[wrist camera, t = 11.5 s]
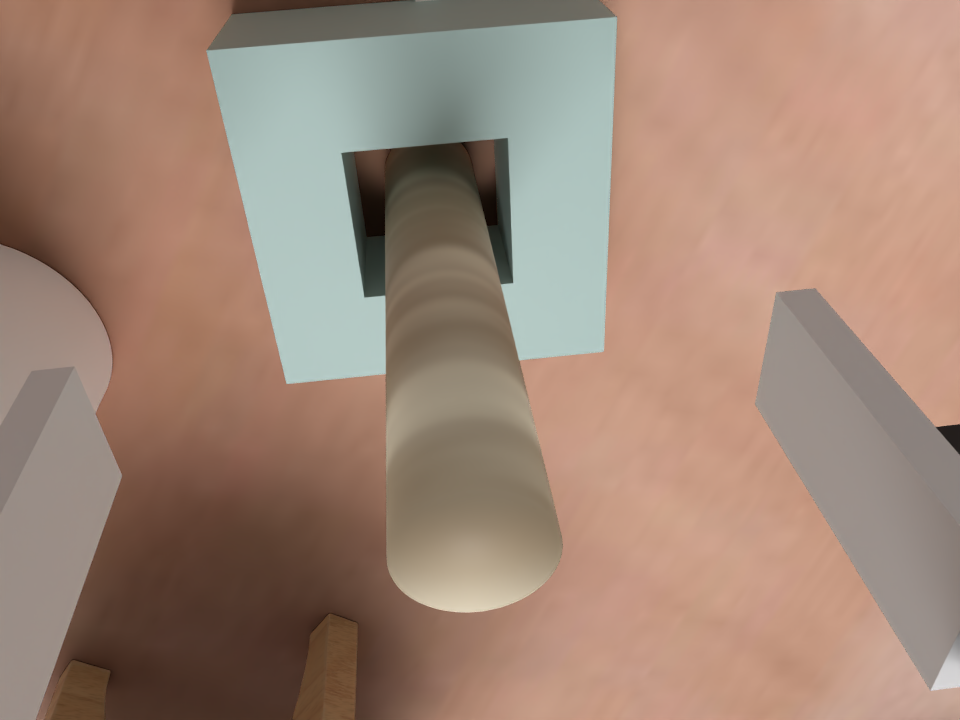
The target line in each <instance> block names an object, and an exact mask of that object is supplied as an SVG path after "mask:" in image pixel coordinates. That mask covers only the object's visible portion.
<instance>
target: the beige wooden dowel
mask: <svg viewBox="0 0 960 720" xmlns="http://www.w3.org/2000/svg"><path fill="white" fill-rule="evenodd" d="M385 322H386V558H387V567H388V570H389V573H390V575H391V577H392V579H393V581H394V582H395V584H396V585H397V586H398V588H399V589H400V590H401V591H402V592H404V593H405V594H406V595H407V596H409V597H410V598H412V599H413V600H415V601H417V602H419V603H421V604H423V605H426V606H428V607H432V608H435V609H439V610H444V611H450V612H481V611H487V610H493V609H497V608H501V607H504V606H507V605H510V604H512V603H515V602H517V601H519V600H521V599H523V598H525V597H527V596H528V595H530V594H532V593H533V592H534V591H536V590H537V589H539V588H540V587H541V586H542V585H543V584H544V583H545V582H546V581H547V580H548V579H549V578H550V577H551V576H552V574H553V573H554V571H555V570H556V568H557V566H558V564H559V562H560V558H561V555H562V548H563V543H562V535H561V531H560V527H559V523H558V519H557V515H556V510H555V506H554V502H553V498H552V494H551V490H550V486H549V481H548V477H547V473H546V469H545V465H544V461H543V457H542V453H541V448H540V444H539V440H538V436H537V432H536V428H535V424H534V419H533V415H532V411H531V407H530V403H529V399H528V395H527V390H526V386H525V382H524V378H523V374H522V370H521V366H520V361H519V357H518V353H517V349H516V345H515V341H514V337H513V333H512V328H511V324H510V320H509V316H508V312H507V308H506V304H505V299H504V295H503V291H502V287H501V283H500V279H499V275H498V270H497V266H496V262H495V258H494V254H493V250H492V246H491V241H490V237H489V233H488V229H487V225H486V221H485V217H484V213H483V208H482V204H481V200H480V196H479V192H478V188H477V184H476V179H475V175H474V171H473V167H472V163H471V159H470V157H469V154H468V152H467V151H466V149H465V148H464V146H463V145H462V144H461V143H460V142H457V143H446V144H435V145H423V146H412V147H401V148H392V150H391V151H390V153H389V155H388V158H387V160H386V165H385Z"/></svg>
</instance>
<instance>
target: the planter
mask: <svg viewBox="0 0 960 720" xmlns="http://www.w3.org/2000/svg"><path fill="white" fill-rule="evenodd" d="M357 637H358V623H356V622H353V621H350V620H348V619H345V618H342V617H339V616H336V615H334V614H328V615H327V616H326V618H325V619H324V620H323V621H322V622H321V623H320V624H319V625H318V626H317V628H316V629H315V630H314V631H313V632H312V633H311V634H310V640H309V649H308V656H307V662H306V666H305V671H304V676H303V680H302V684H301V688H300V692H299V697H298V700H297V703H296V707H295V710H294V714H293V717H292V720H355V700H356V668H357ZM109 677H110V670H106V669H103V668H99V667H96V666H93V665H89V664H86V663H82V662H79V661H75V660H72V661H71V662H70V664H69V665H68V666H67V668H66V669H65V671H64V672H63V674H62V675H61V676H60V678H59V681H58V684H57V686H56V689H55V692H54V695H53V697H52V700H51V703H50V705H49V708H48V711H47V714H46V716H45V719H44V720H105V696H106V688H107V684H108V680H109Z"/></svg>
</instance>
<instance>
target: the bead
mask: <svg viewBox="0 0 960 720" xmlns="http://www.w3.org/2000/svg"><path fill="white" fill-rule="evenodd" d="M616 31H617V16H615V15H614V14H613V13H612V12H611V11H610V10H609V9H608V8H607V7H606V6H605V5H604V4H603V3H602V2H600V1H599V0H432V1H420V2H415V0H405V1H392V2H380V3H367V4H355V5H342V6H330V7H317V8H304V9H292V10H279V11H267V12H254V13H242V14H232V15H231V16H230V18H229V19H228V21H227V22H226V23H225V25H224V26H223V28H222V29H221V31H220V32H219V33H218V35H217V36H216V38H215V39H214V40H213V42H212V43H211V45H210V46H209V48H208V49H207V50H206V51H207V55H208V59H209V64H210V68H211V72H212V76H213V80H214V84H215V89H216V93H217V97H218V101H219V105H220V109H221V114H222V118H223V122H224V126H225V130H226V134H227V138H228V143H229V147H230V151H231V155H232V159H233V163H234V168H235V172H236V176H237V180H238V184H239V188H240V192H241V197H242V201H243V205H244V209H245V213H246V217H247V222H248V226H249V230H250V234H251V238H252V242H253V246H254V251H255V255H256V259H257V263H258V267H259V271H260V276H261V280H262V284H263V288H264V292H265V296H266V300H267V305H268V309H269V313H270V317H271V321H272V325H273V330H274V334H275V338H276V342H277V346H278V350H279V354H280V359H281V363H282V367H283V371H284V375H285V379H286V384H292V383H301V382H311V381H321V380H331V379H341V378H350V377H360V376H370V375H380V374H386V322H385V235H384V236H373V237H367V236H366V229H365V223H364V216H363V209H362V203H361V196H360V189H359V183H358V176H357V169H356V163H355V156H354V152H356V151H367V150H378V149H389V148H401V147H412V146H423V145H435V144H446V143H457V142H469V141H480V140H491V139H494V155H495V176H496V198H497V219H498V225H491V226H487V229H488V233H489V237H490V241H491V246H492V250H493V254H494V258H495V262H496V266H497V270H498V275H499V279H500V283H501V287H502V291H503V295H504V299H505V304H506V308H507V312H508V316H509V320H510V324H511V328H512V333H513V337H514V341H515V345H516V349H517V353H518V357H519V360H527V359H537V358H547V357H556V356H566V355H576V354H586V353H596V352H604V334H605V309H606V284H607V258H608V233H609V208H610V183H611V157H612V132H613V107H614V82H615V56H616Z"/></svg>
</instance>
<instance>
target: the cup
mask: <svg viewBox="0 0 960 720" xmlns="http://www.w3.org/2000/svg"><path fill="white" fill-rule="evenodd" d="M73 366H75V368H76V371H77V373H78V375H79V377H80V380H81V382H82V384H83V387H84V389H85V391H86V394H87V396H88V398H89V400H90V403H91V405H92V407H93V410H94V412H95V413H96V411H97V409H98V407H99V405H100V402H101V400H102V398H103V396H104V394H105V392H106V390H107V388H108V385H109V382H110V378H111V373H112V350H111V345H110V341H109V338H108V335H107V332H106V329H105V327H104V325H103V323H102V321H101V319H100V318H99V316H98V314H97V313H96V311H95V310H94V308H93V307H92V305H91V304H90V303H89V301H88V300H87V299H86V298H85V297H84V296H83V295H82V293H81V292H80V291H79V290H78V289H77V288H75V287H74V286H73V285H72V284H71V283H70V282H69V281H68V280H66V279H65V278H64V277H63V276H62V275H60V274H59V273H57V272H56V271H55V270H53V269H52V268H50V267H49V266H47V265H45V264H44V263H42V262H40V261H39V260H37V259H35V258H33V257H31V256H29V255H27V254H25V253H22V252H20V251H18V250H15V249H13V248H10V247H7V246H4V245H1V244H0V425H1V424H2V422H3V420H4V418H5V417H6V415H7V413H8V411H9V410H10V408H11V406H12V404H13V402H14V401H15V399H16V397H17V395H18V394H19V392H20V390H21V388H22V387H23V385H24V383H25V381H26V380H27V378H28V376H29V374H30V373H31V371H35V370H45V369H54V368H64V367H73Z"/></svg>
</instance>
